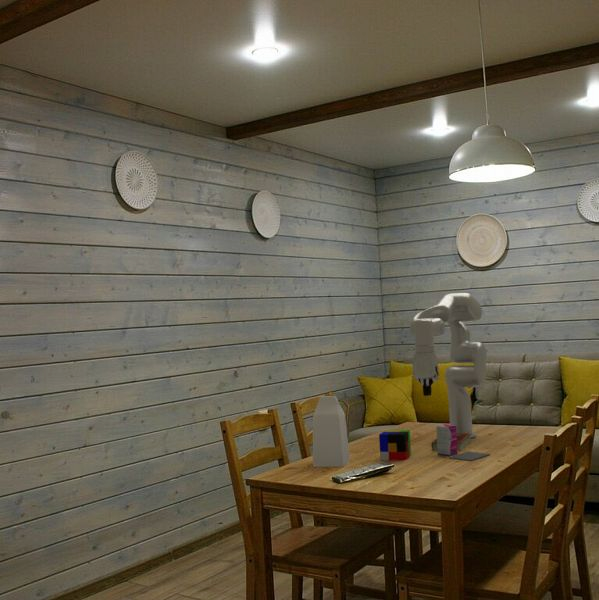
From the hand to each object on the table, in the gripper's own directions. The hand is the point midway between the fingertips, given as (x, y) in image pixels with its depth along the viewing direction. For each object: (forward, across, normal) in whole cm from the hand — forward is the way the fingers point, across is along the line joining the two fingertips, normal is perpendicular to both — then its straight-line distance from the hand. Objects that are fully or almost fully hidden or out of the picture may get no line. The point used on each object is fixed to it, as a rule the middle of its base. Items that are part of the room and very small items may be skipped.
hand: (427, 395), depth 298 cm
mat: (+23, +18, 0) cm, 29 cm away
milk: (+23, -21, -36) cm, 48 cm away
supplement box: (+23, +8, 0) cm, 25 cm away
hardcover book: (+24, -1, +16) cm, 29 cm away
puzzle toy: (+23, -6, -15) cm, 28 cm away
